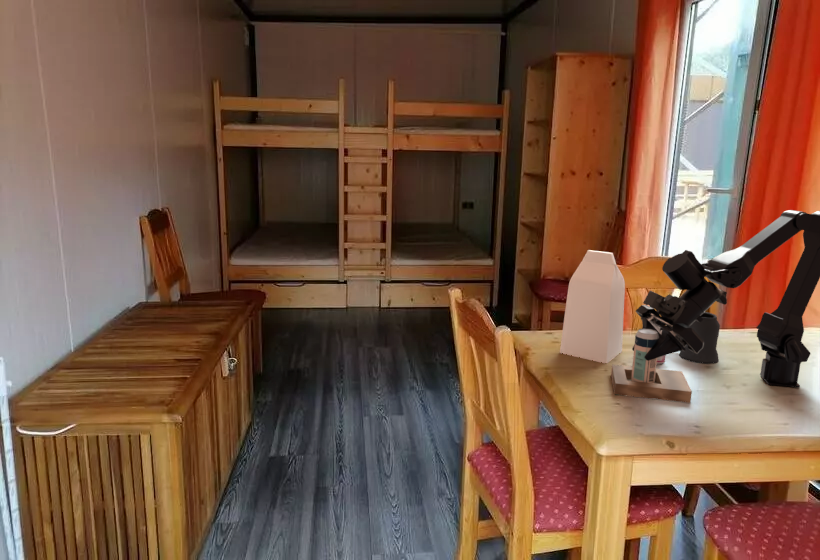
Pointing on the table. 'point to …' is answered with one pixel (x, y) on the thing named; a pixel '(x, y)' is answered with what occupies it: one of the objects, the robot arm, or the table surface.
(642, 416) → the table surface
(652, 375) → the beer can
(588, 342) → the milk
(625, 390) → the socket board
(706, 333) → the mug
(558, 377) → the table surface
